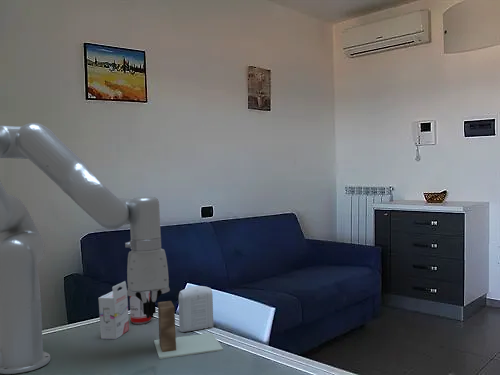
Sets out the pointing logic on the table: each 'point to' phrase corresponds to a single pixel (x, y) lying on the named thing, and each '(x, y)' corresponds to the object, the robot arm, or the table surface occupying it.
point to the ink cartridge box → (114, 312)
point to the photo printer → (195, 308)
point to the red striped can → (138, 310)
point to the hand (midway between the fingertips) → (149, 316)
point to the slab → (167, 326)
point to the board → (191, 346)
